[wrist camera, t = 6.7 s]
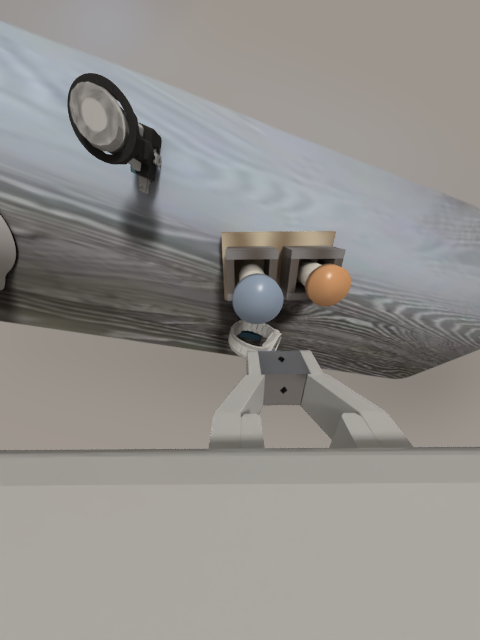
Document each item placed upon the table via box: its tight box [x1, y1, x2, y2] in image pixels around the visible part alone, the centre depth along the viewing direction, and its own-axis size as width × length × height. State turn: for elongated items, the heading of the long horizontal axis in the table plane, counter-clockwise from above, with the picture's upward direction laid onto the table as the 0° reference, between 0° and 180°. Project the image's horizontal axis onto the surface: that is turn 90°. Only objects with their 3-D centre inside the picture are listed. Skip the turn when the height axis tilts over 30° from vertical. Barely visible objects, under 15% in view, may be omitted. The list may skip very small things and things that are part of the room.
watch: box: [228, 317, 282, 359], centre depth 29 cm, size 6×8×11 cm
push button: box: [68, 73, 161, 194], centre depth 19 cm, size 7×5×10 cm
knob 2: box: [297, 259, 351, 306], centre depth 23 cm, size 4×4×9 cm
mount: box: [221, 231, 345, 301], centre depth 26 cm, size 16×10×7 cm, turn 90°
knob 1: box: [233, 263, 283, 324], centre depth 20 cm, size 4×4×9 cm
